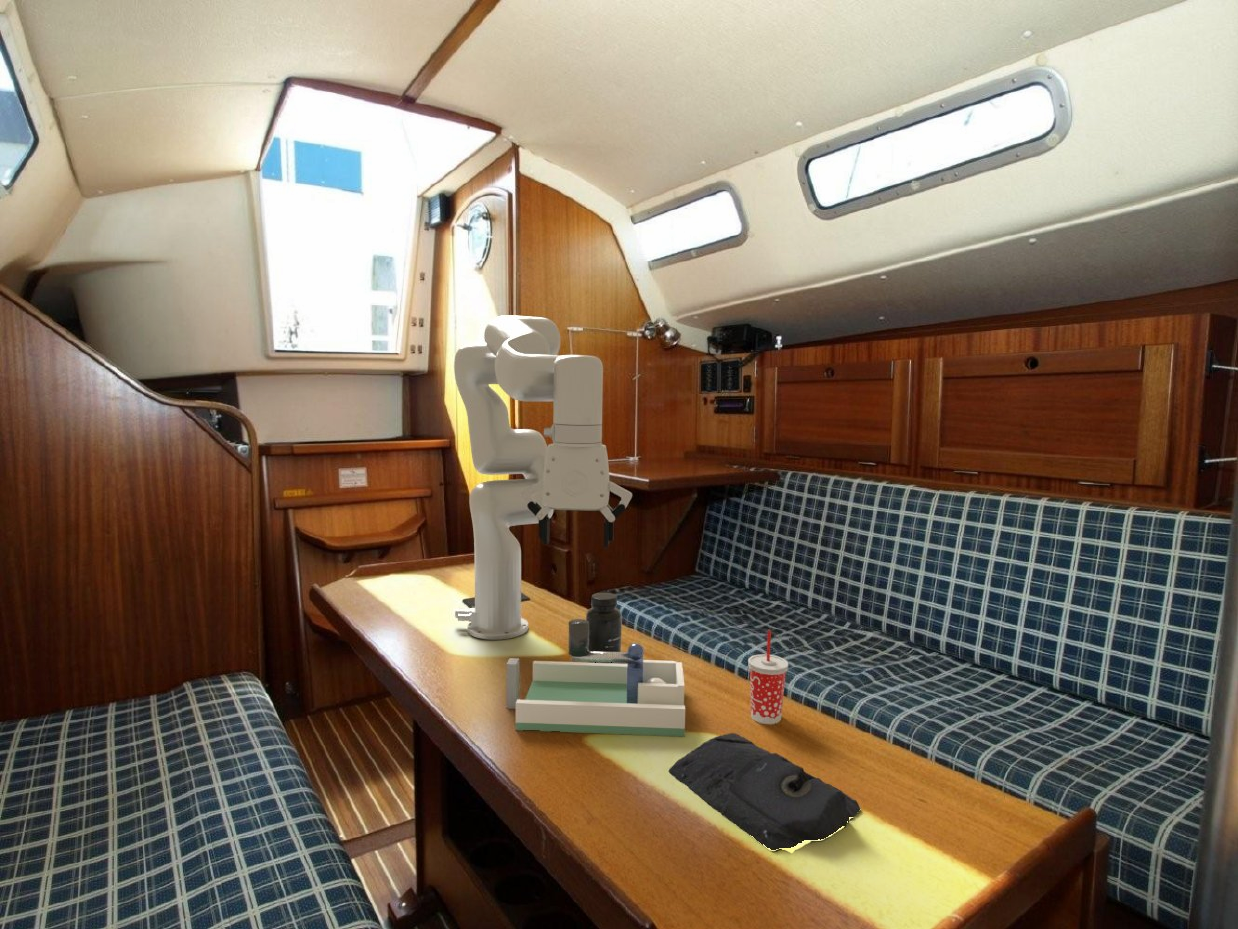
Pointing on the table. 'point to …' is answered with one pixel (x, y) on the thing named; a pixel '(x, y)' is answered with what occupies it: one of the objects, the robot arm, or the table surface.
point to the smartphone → (471, 601)
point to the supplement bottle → (604, 624)
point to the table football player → (607, 656)
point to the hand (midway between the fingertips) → (576, 544)
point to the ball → (656, 681)
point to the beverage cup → (767, 686)
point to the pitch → (598, 698)
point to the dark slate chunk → (763, 792)
